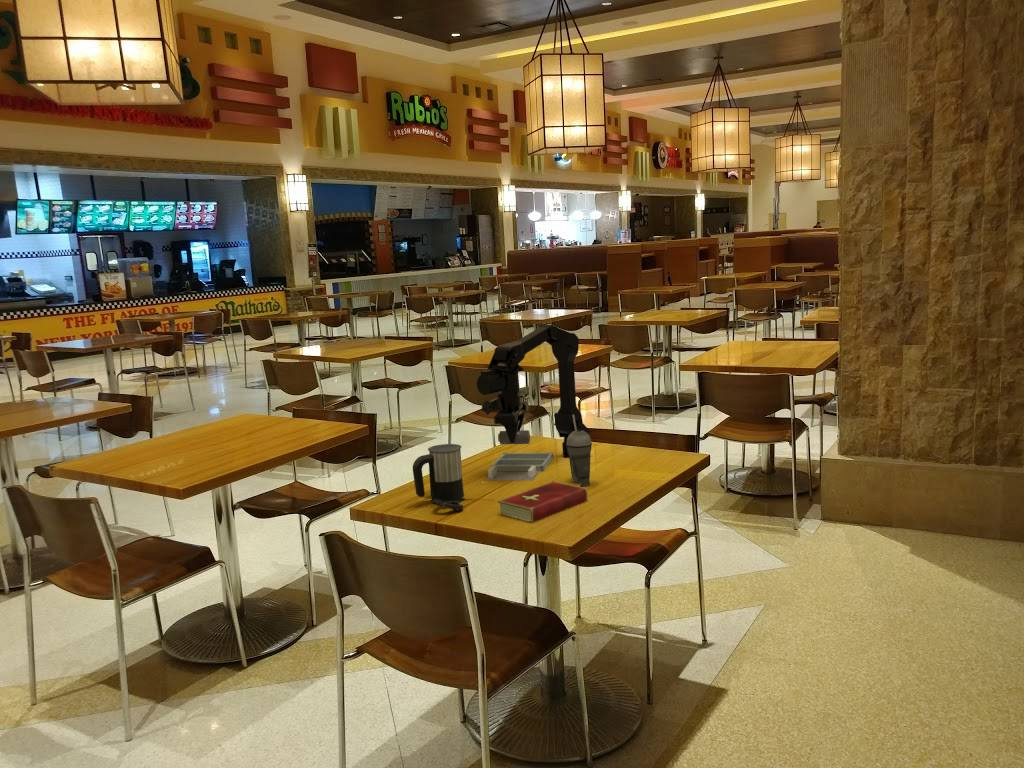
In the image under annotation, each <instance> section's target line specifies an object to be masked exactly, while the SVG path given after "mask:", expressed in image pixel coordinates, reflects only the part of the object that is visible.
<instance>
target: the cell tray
mask: <svg viewBox="0 0 1024 768" xmlns="http://www.w3.org/2000/svg"><path fill="white" fill-rule="evenodd" d="M553 459H554V453H553V452H505V453H504V452H503V453H502V454H501V455H500V456H499V457H498V458H497V459H496V460H495V461H494V462H493V463H492V464H491V465H490V468H491V467H492V466H496V470H497V472H528V470H529V469H530V468H531V466H536V472H544V471H545V469H546V468H547V467H548V466H549V464H550V463H551V462H552V460H553Z"/></svg>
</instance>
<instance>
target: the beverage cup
mask: <svg viewBox="0 0 1024 768" xmlns="http://www.w3.org/2000/svg"><path fill="white" fill-rule="evenodd" d="M572 416H573V422H574V428H575V431H573V432H572V433H570V435H569V436H568V438H567V444H566V446H567V450H568V453H569V458H568V460H569V466H570V473H571V480H572V483H574V484H579V487H580V486H584V487H587V485H588V486H589V485H590V479H591V476H590V475H591V455H592V454H591V453H592V446H593V443H592V439H591V437H590V434H589V435H588V434H587V433H586V432H585V431H583V430H577V428H576V423H575V417H574V415H572Z"/></svg>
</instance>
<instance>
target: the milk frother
mask: <svg viewBox="0 0 1024 768" xmlns="http://www.w3.org/2000/svg"><path fill="white" fill-rule="evenodd" d="M461 450H462V445H460V444H455V443H443V444H436V445H432V446H429V447H428V448H427V451H428V452H429V453H428V454H423V455H420V456H418V457H416V459H415V460H414V462H413V463H412V474H413V475H412V476H413V482H414V489H415V495H417V496H418V497H420V498H424V496H425V494H426V493H425V485H424V476H423V467H424V465H426V464H428V471H429V472H428V473H429V487H430V488H429V490H430V497H431V500H430V501H431V503H433V504H436V505H440V506H443V507H445V508H448V509H449V510H453V511H455V512H457V511H458V509H463V508H464V504H463V503H461V502H463V501H465V499H466V498H464V496H465V492H464V491H465V490H464V482H463V469H462V468H463V467H462V453H461Z"/></svg>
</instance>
